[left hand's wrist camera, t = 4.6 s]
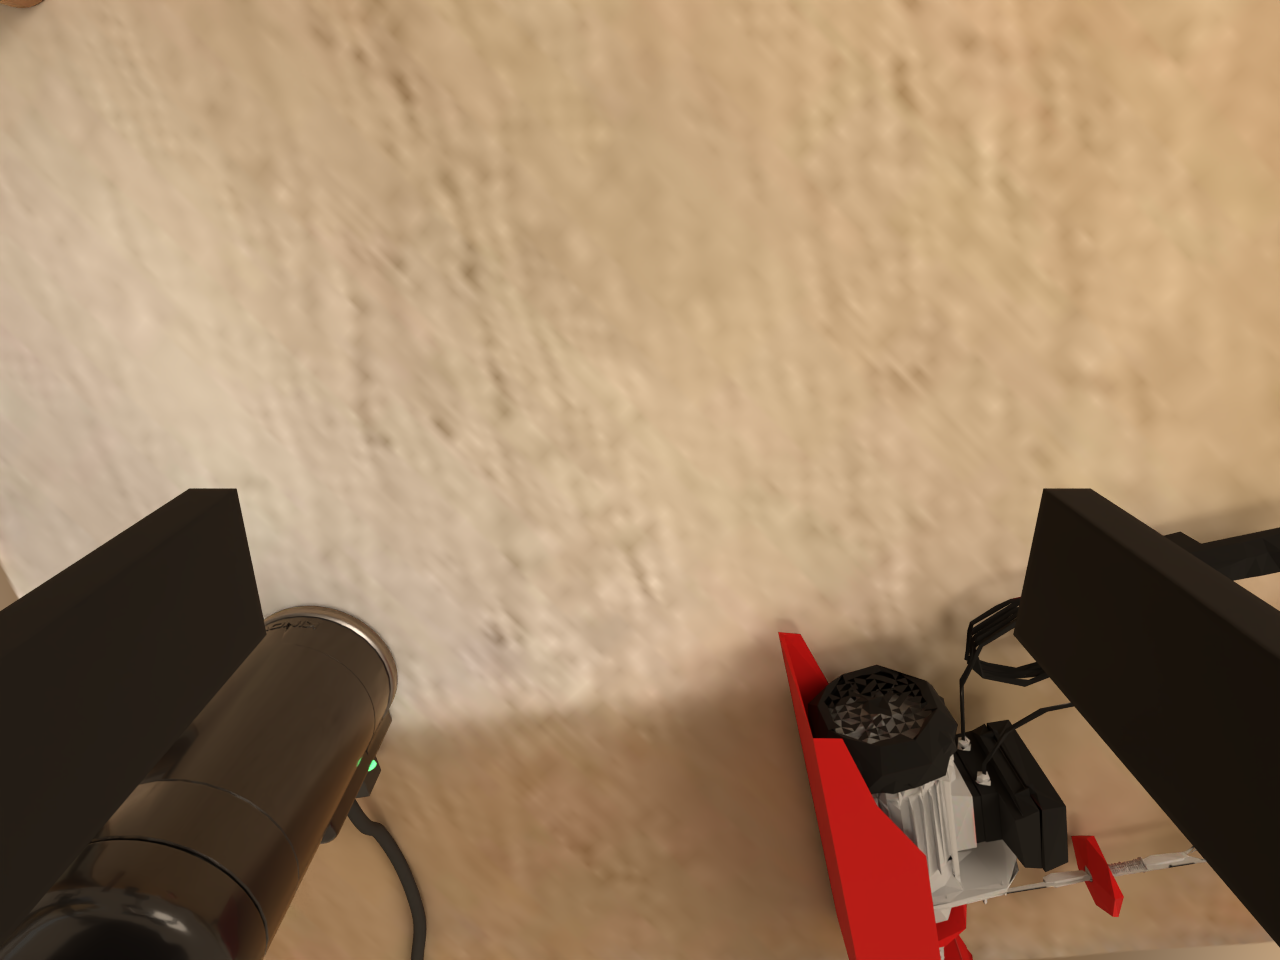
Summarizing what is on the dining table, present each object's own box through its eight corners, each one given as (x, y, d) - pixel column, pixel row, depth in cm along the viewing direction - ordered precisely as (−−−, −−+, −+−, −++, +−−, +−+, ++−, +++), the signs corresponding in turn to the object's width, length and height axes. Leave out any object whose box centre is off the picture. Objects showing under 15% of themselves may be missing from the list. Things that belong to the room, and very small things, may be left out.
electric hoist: (1486, 594, 33) (809, 730, 35) (1392, 974, 43) (876, 1059, 46) (1296, 497, 42) (772, 610, 44) (1257, 830, 52) (834, 906, 55)
